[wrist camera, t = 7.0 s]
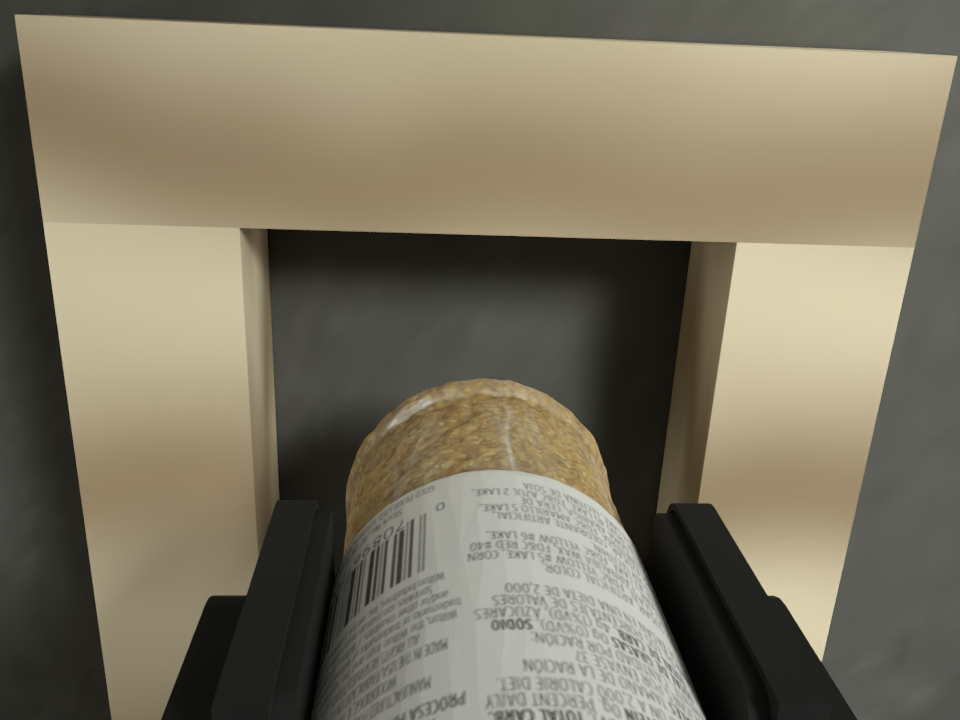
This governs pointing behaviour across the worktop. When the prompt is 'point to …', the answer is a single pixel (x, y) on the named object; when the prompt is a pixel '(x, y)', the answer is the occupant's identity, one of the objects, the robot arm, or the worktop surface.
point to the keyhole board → (470, 211)
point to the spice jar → (492, 574)
